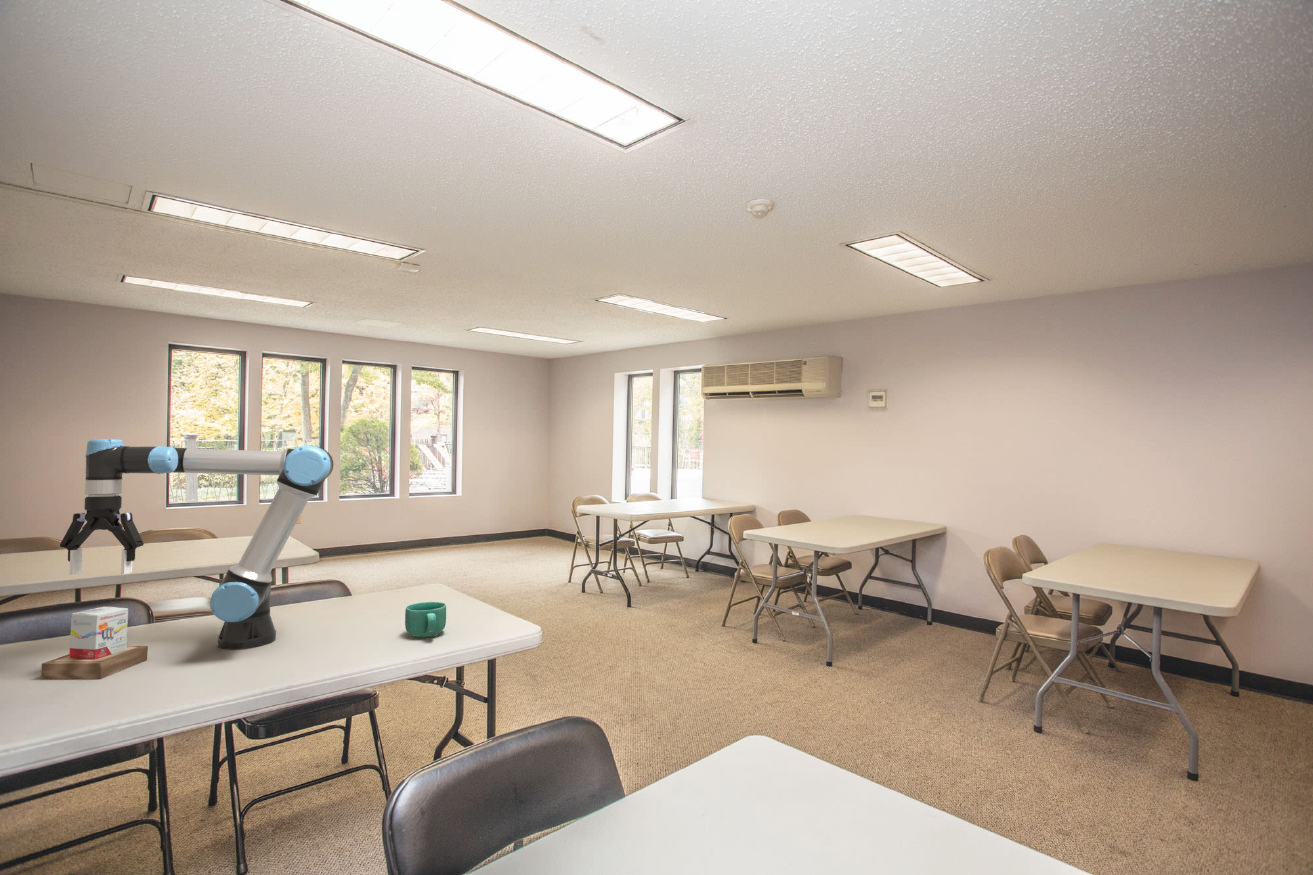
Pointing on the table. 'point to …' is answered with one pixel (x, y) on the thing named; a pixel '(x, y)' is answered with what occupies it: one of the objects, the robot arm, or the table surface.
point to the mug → (425, 619)
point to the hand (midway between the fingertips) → (101, 573)
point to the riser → (93, 665)
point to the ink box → (98, 632)
